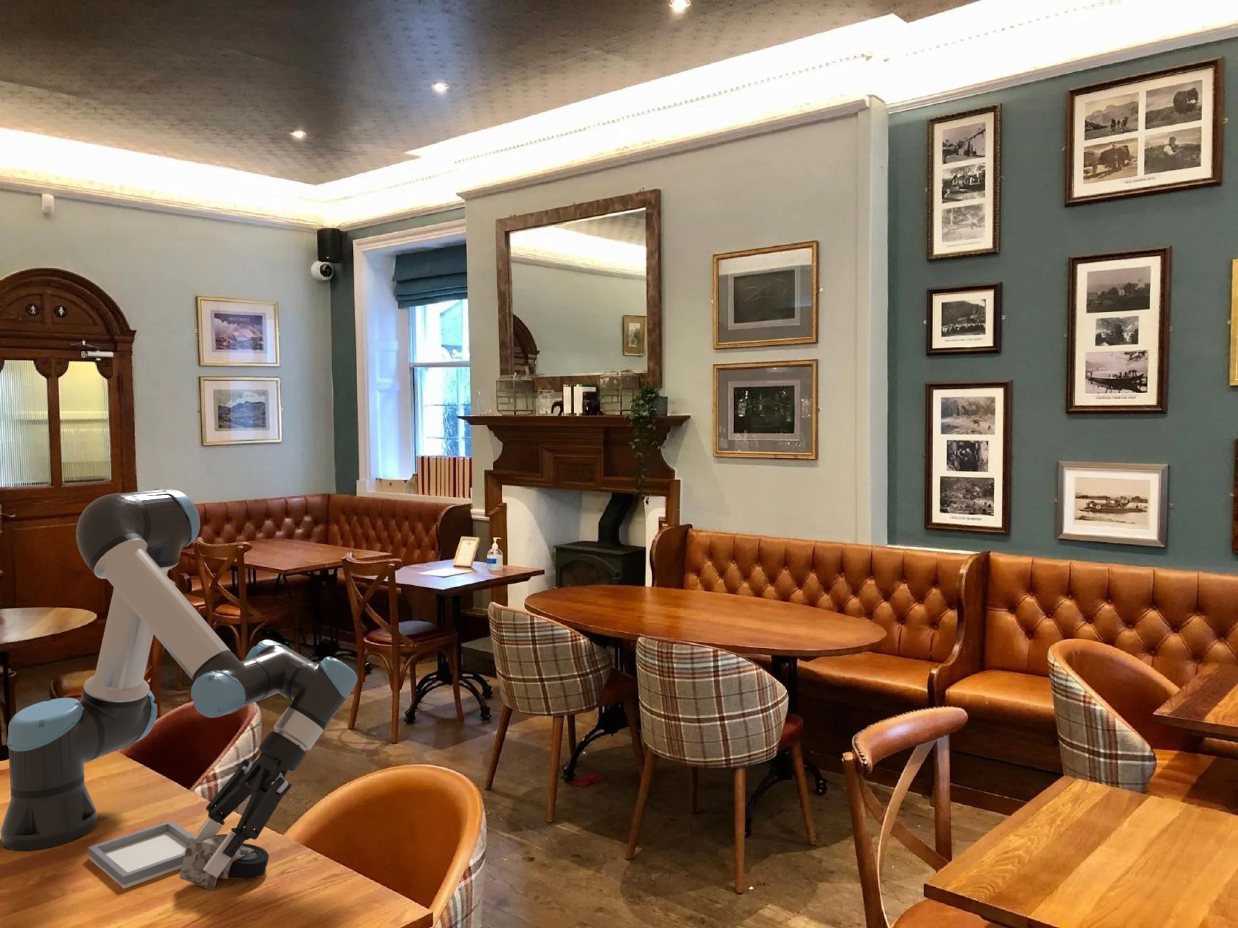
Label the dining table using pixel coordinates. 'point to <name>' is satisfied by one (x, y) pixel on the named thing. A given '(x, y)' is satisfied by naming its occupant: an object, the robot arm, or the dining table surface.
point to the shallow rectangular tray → (142, 854)
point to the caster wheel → (241, 866)
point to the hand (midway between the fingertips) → (199, 865)
